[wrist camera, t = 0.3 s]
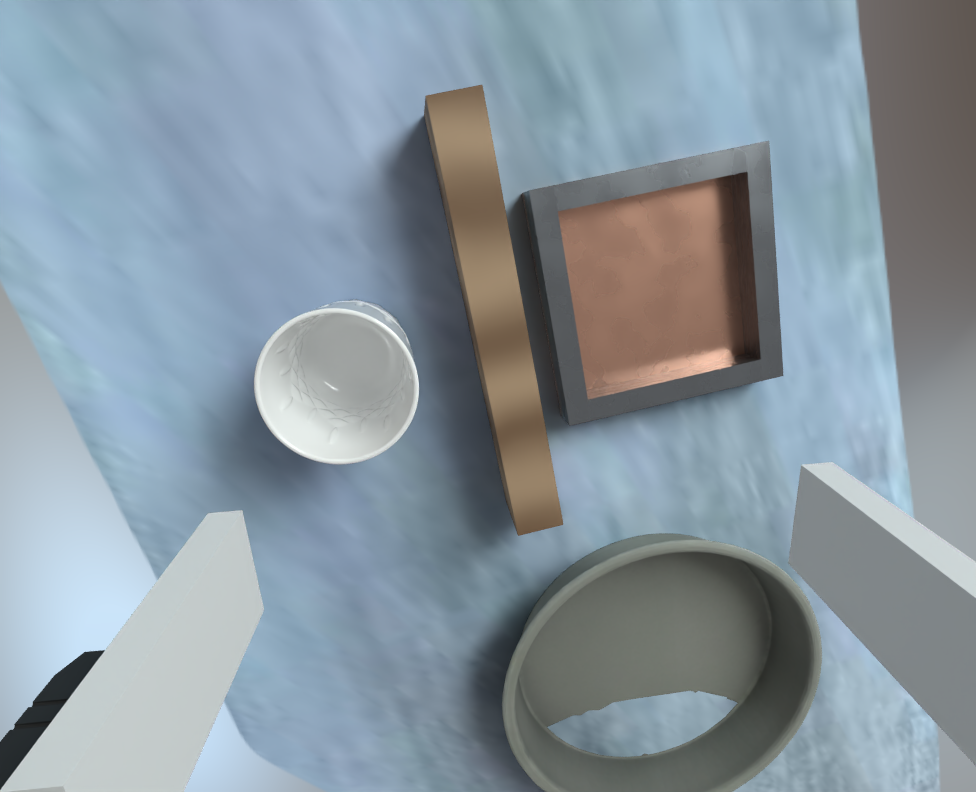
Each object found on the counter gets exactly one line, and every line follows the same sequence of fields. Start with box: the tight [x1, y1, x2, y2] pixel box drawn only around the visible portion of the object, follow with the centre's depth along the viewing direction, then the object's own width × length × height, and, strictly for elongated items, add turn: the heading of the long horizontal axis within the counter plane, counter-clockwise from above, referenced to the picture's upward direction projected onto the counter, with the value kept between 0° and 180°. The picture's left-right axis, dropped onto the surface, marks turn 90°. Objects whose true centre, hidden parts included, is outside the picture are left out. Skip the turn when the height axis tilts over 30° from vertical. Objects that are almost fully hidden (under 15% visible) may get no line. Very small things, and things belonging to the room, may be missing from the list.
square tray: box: [522, 141, 783, 426], centre depth 38 cm, size 15×15×2 cm
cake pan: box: [502, 534, 822, 792], centre depth 46 cm, size 25×25×4 cm
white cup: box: [254, 299, 419, 464], centre depth 34 cm, size 8×8×10 cm
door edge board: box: [424, 85, 563, 536], centre depth 36 cm, size 26×3×5 cm, turn 12°
